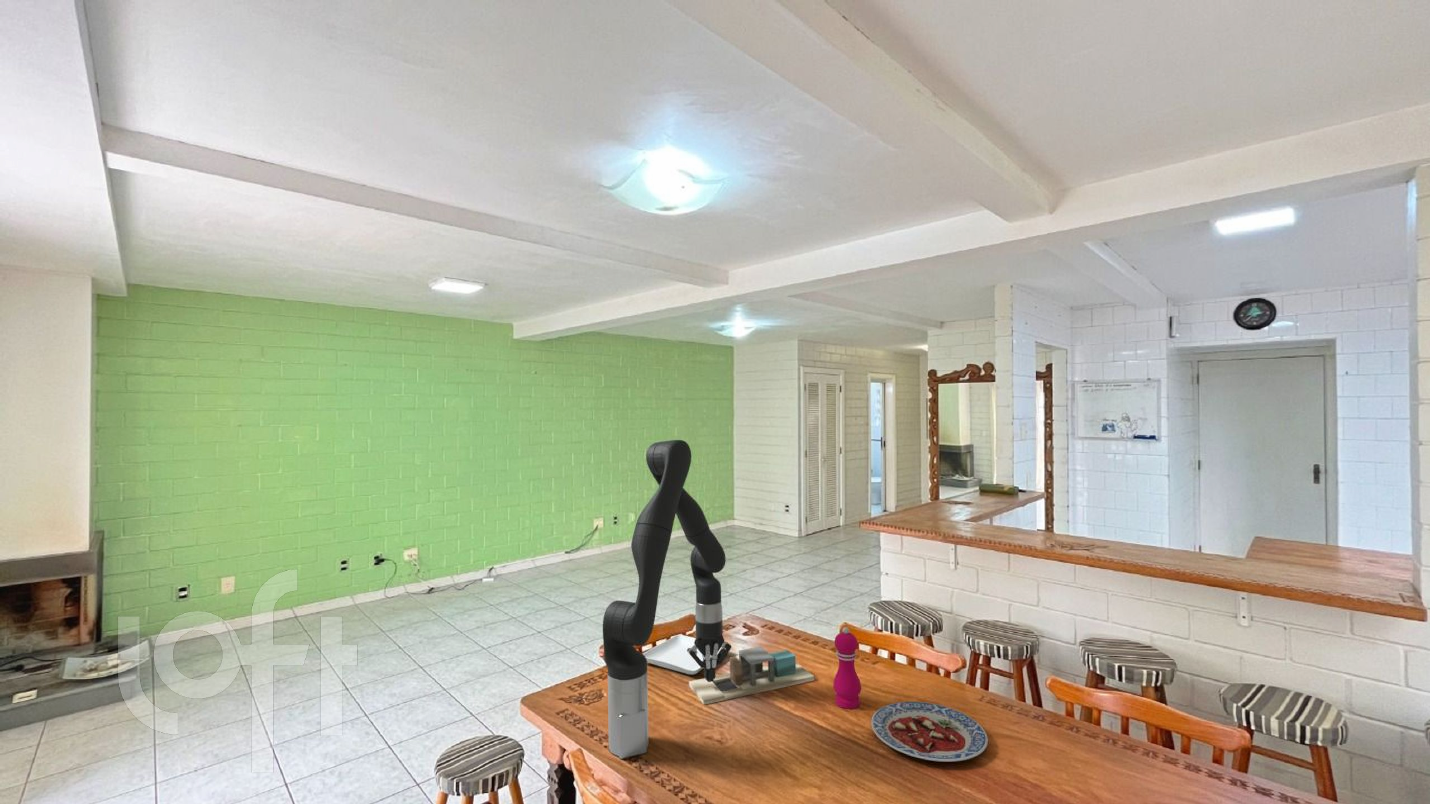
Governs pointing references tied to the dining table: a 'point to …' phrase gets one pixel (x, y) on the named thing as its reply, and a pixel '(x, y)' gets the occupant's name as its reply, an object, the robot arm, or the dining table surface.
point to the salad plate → (675, 655)
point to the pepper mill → (846, 671)
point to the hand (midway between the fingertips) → (709, 680)
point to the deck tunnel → (751, 664)
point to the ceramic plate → (929, 731)
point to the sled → (782, 667)
